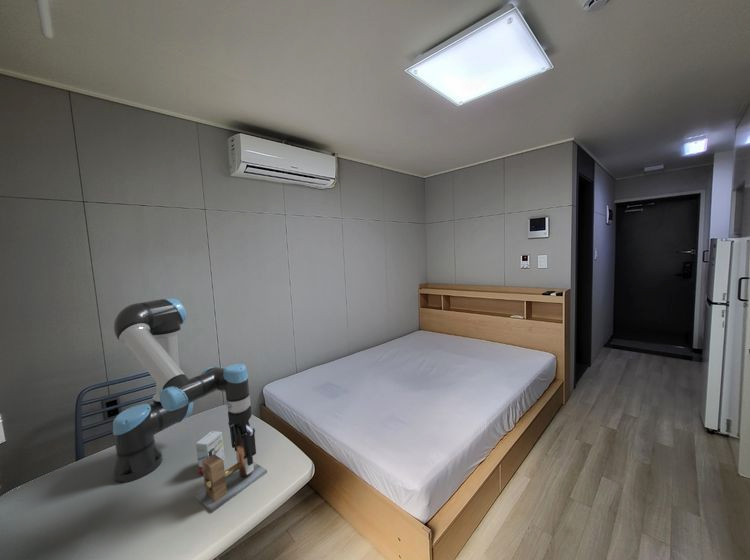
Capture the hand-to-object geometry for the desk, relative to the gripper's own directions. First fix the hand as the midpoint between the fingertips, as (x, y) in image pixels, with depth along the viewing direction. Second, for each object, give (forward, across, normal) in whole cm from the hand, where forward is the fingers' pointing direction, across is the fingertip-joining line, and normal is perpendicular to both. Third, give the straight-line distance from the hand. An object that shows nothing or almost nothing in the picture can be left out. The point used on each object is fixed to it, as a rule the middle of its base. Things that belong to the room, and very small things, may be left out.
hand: (245, 469), depth 109 cm
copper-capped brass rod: (+1, 0, -6) cm, 6 cm away
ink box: (+3, -17, -4) cm, 18 cm away
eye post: (+3, 0, -5) cm, 5 cm away
